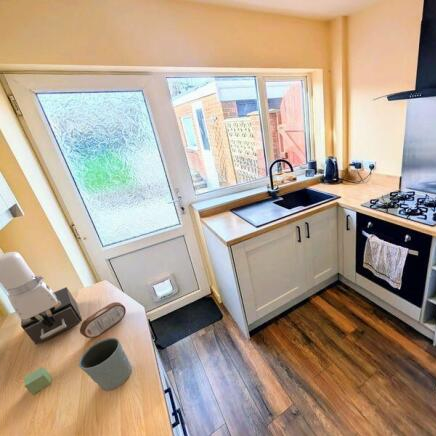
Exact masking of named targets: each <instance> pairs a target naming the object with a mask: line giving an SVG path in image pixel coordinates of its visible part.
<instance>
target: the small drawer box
mask: <svg viewBox="0 0 436 436" xmlns="http://www.w3.org/2000/svg"><path fill="white" fill-rule="evenodd" d="M53 293H54V294H55V295H56V297H57V300H59V301H60V302H61V305H60V306H59V307H57V308H56V309H55V310H54V312H57V311H59V310H61V309H63V308H65V307H67V306H70V307H71V308H72V310H73V311H74V313H75V314H76V316H77V318H78V319H79V321H80V322H81V321H82V316H81V312H80V309H79V306H78V303H77V301H76V300H75V298H74V296H73V295H72V293H71V292H70V290H69V289H68V287H67V286H66V287H63V288H60V289H59V290H56V291H53ZM54 312H53V313H54ZM42 314H43V315H45V316H46V311H44V312H42ZM35 321H38V320H30V321H27V322H22V319H20V327H21V328H22V330H23V331H24V332H25V333H26V331H25V328H27V327H28V325H29V324H31V323H33V322H35ZM27 336H28V337H29V338H30V336H29V335H28V334H27ZM31 341H32V342H33V343H34V341H33V340H32V339H31Z"/></svg>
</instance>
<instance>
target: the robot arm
mask: <svg viewBox="0 0 436 436" xmlns="http://www.w3.org/2000/svg"><path fill="white" fill-rule="evenodd" d="M43 280H44V276H43V275H40V276H37V275H36V274H34V272H33V271H32V269H31V267H30V266H29V264H27V262H26V260H25V259H24V257H23V256H22V254H20V253H19V252H18V251H17V252H16V251H9V252H4V253H1V254H0V285H1V286H2V287H3V288H4V290H5V291H6V293H8V295H7V297H8V300H9V303H10V305H11V307H12V309H13V310H14V312H15V313H16V315H17V317H18V318H19V319H20V320H21V319H22V322H27V321H30V320H39V321H42V322H43V324H44V325H45V326H48V327H49V328H50V327H51V326H54V325H55V323H54V322H55V321H56V319H55V318H54V316H53V315H52V313H53V312H54V310H55V309H56V308H57V307H59V306H60V305H61V302H60V301H59V300H57V297H56V295H55V294H54V291H53V290H52V288H51V287H50V286H49V285H48V284H47V283H45V282H44V281H43ZM44 311H46V316H45V315H43V314H42V312H44Z"/></svg>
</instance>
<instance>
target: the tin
mask: <svg viewBox="0 0 436 436" xmlns="http://www.w3.org/2000/svg"><path fill="white" fill-rule="evenodd" d="M126 312H127V309H126V307H125V306H124V304H122V302H119V301H118V302H117V301H116V302H111V303H109V304H107V305H106V306H104V307H102V308H101V309H99V310H97V311H96V312H94V313H93V314H91V315H90V316H88V317H86V318H85V319H84V320H83V322H82V323H81V325H80V327H79V332H80V334H81V336H84V337H85V338H87V339H94V338H97V337H100V336H101V335H102V334H103V333H105V332H107V331H108V330H109V329H111V328H112V327H113V326H115V325H116V324H117V323H119V322H121V321H122V320H123V318H125V315H126Z"/></svg>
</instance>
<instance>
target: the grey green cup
mask: <svg viewBox="0 0 436 436" xmlns="http://www.w3.org/2000/svg"><path fill="white" fill-rule="evenodd" d="M78 367H79V368H80V369H81V370H82V371H83V372H84V373H86V374H87V375H88V376H89V378H90V379H91V380H92V381H93V382H94V383H96V384H97V385H98V387H99V388H101V390H103V391H105V392H107V391H108V392H109V391H113V390H115V389H117V388H119V387H121V386H122V385H123V384H124V383H125V382H126V381H127V380H128V379H129V377H130V376H131V374H132V371H133V370H132V369H133V367H132V364H131V362H130V361H129V358H128V356H127V354H126V352H125V350H124V349H123V346H122V344H121V342H120V340H119V339H118V338H117V337H108V338H104V339H101V340H99V341H97V342H95V343H93V345H91V346H90V347H89V348H87V349H86V350H85V351H84V352H83V354H82V355H81V356H80V358H79V361H78Z"/></svg>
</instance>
